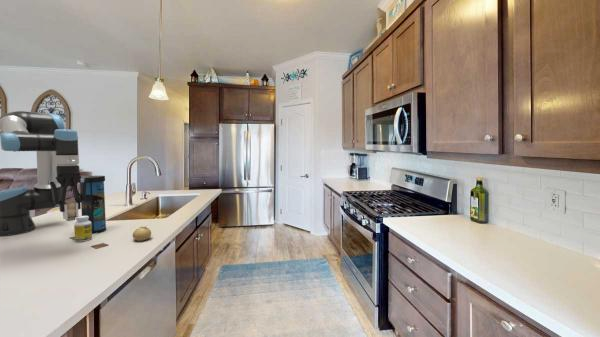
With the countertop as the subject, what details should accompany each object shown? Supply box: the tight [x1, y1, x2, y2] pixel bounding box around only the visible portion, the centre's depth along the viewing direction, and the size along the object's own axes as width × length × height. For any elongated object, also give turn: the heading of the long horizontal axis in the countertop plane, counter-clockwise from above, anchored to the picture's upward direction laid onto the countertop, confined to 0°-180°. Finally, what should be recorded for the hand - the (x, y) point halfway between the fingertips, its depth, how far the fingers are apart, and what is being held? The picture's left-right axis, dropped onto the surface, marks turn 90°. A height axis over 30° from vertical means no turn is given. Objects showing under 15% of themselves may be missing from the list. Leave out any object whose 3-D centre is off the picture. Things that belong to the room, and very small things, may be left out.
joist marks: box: [69, 235, 109, 250], centre depth 127 cm, size 28×5×1 cm, turn 60°
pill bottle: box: [73, 215, 93, 243], centre depth 129 cm, size 6×6×12 cm
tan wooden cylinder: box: [65, 200, 76, 222], centre depth 115 cm, size 4×4×8 cm
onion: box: [132, 226, 152, 242], centre depth 130 cm, size 8×8×7 cm
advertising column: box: [78, 175, 107, 235], centre depth 141 cm, size 11×11×30 cm
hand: (70, 217), depth 116 cm, fingers closed on tan wooden cylinder, 3 cm apart
